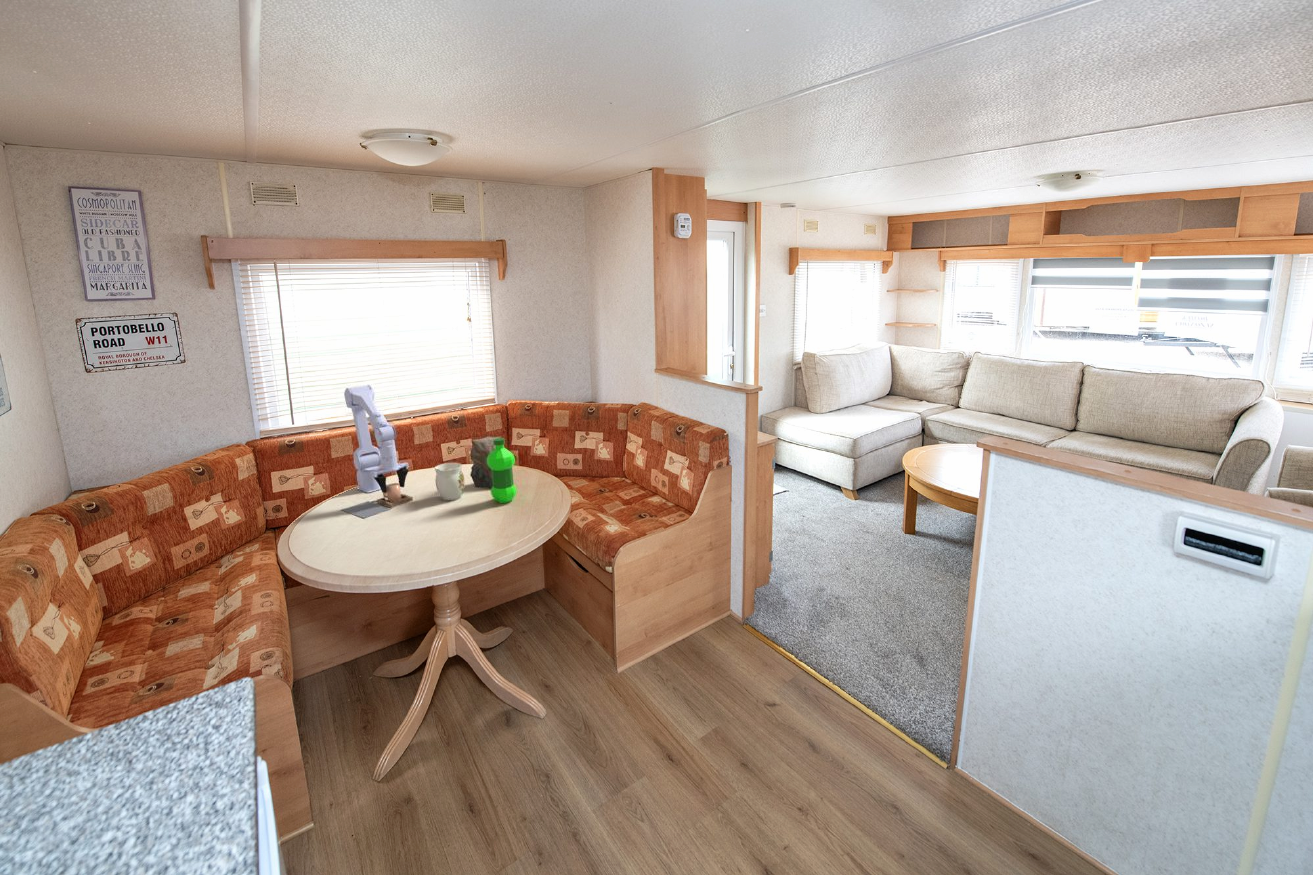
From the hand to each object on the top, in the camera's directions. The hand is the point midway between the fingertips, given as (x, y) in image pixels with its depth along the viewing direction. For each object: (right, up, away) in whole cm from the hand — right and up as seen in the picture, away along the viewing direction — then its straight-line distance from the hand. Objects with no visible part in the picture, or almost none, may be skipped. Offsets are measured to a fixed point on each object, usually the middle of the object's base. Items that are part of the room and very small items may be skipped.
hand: (393, 489), depth 243 cm
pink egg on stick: (-2, -5, +3) cm, 6 cm away
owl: (+34, 0, +19) cm, 38 cm away
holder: (0, -5, +1) cm, 5 cm away
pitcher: (+22, -4, +6) cm, 23 cm away
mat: (-8, -7, -6) cm, 12 cm away
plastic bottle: (+44, -5, -1) cm, 44 cm away
